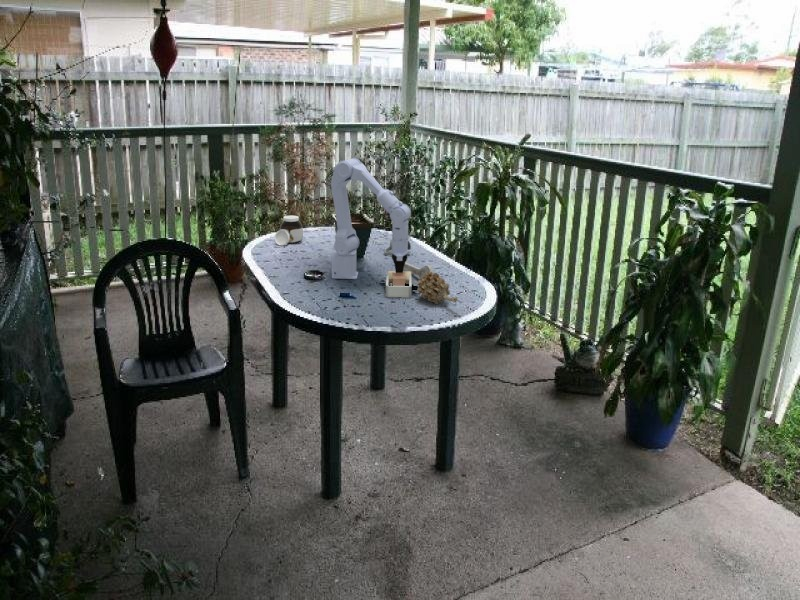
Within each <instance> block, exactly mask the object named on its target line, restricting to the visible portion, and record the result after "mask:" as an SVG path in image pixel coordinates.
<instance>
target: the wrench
mask: <svg viewBox="0 0 800 600" xmlns="http://www.w3.org/2000/svg"><path fill="white" fill-rule="evenodd" d="M403 271H411V275H415V276H418V278H419V279H420V278H421V276H422V275H424V273H427V272H432V273H433V274H434V273H435V269H434V267H433V266H432V265H428V264H427V265H424V266H423V267H422V268H421V267H418V266H416V265H414V264H412V263H409V262H407V261H406V262H405V265H404V269H403Z"/></svg>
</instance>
